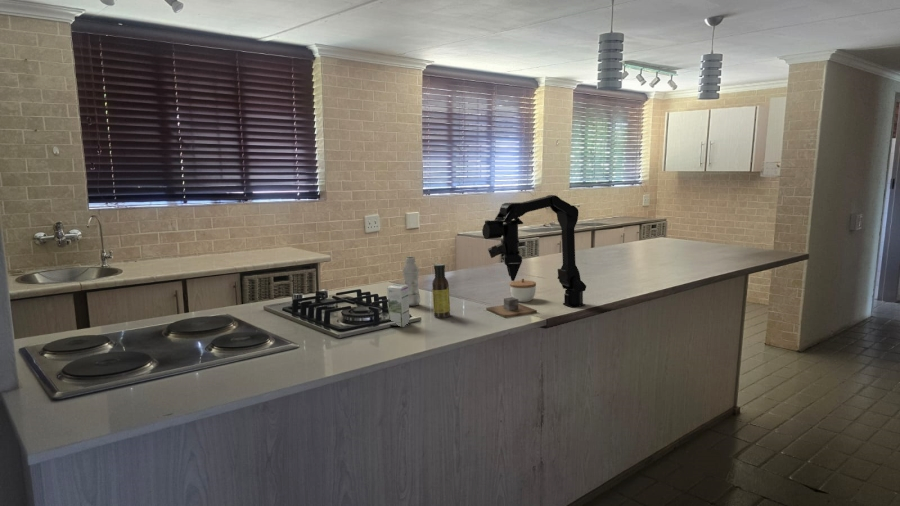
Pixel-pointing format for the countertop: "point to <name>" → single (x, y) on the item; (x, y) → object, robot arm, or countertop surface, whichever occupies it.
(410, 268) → the plastic bottle
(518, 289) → the lidded jar
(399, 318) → the syrup box
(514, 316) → the mat
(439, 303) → the sauce bottle
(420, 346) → the countertop surface
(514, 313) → the lid
